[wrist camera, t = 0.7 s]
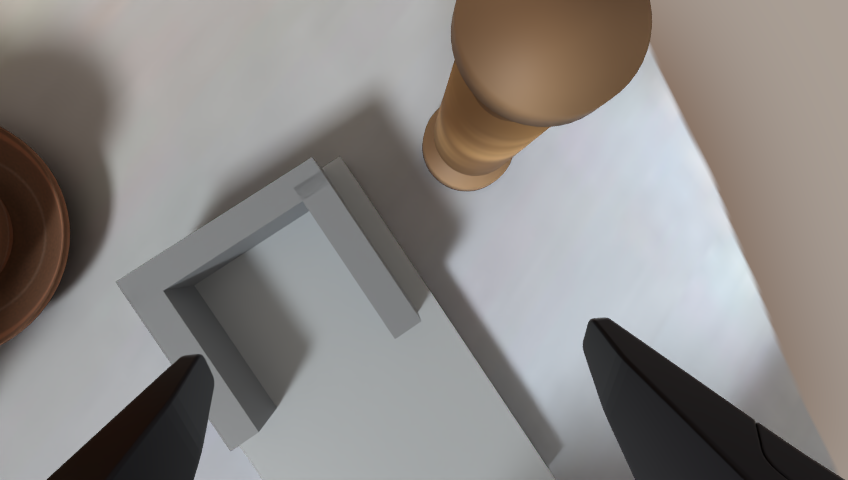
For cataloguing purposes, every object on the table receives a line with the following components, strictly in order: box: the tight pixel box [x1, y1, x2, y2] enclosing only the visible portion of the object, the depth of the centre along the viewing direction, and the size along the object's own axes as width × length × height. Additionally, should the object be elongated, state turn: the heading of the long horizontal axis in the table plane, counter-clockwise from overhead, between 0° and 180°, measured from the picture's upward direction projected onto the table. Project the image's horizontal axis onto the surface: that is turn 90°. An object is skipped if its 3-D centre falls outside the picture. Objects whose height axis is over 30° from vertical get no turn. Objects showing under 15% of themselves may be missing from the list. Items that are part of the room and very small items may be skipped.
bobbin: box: [422, 0, 652, 191], centre depth 17 cm, size 5×5×13 cm
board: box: [116, 156, 556, 480], centre depth 20 cm, size 20×12×4 cm, turn 34°
